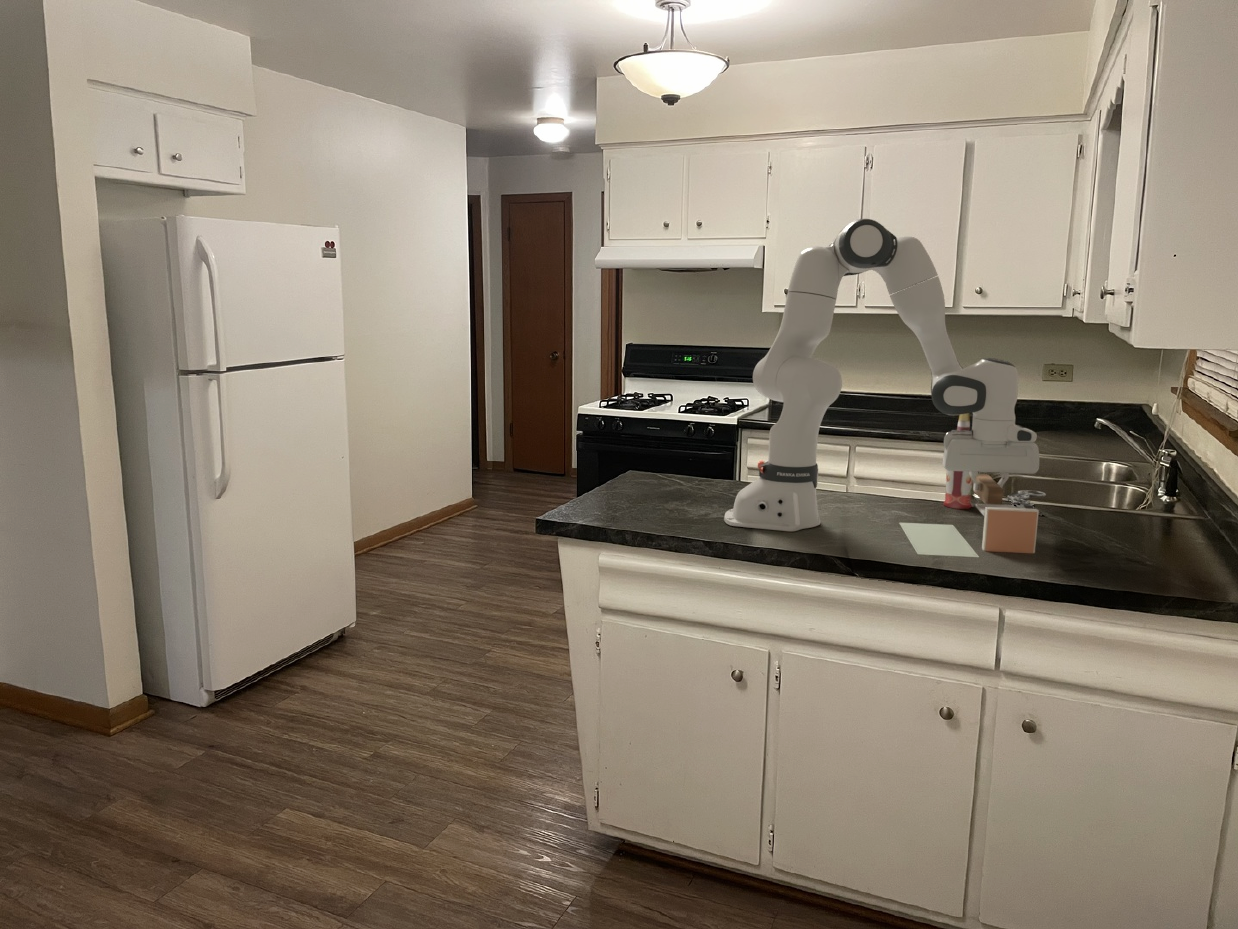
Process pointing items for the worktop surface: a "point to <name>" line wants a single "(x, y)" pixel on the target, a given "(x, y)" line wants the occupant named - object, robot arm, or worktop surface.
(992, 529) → the tile
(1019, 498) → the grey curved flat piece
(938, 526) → the plate
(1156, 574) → the worktop surface
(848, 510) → the worktop surface
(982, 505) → the turner
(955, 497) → the liquor
